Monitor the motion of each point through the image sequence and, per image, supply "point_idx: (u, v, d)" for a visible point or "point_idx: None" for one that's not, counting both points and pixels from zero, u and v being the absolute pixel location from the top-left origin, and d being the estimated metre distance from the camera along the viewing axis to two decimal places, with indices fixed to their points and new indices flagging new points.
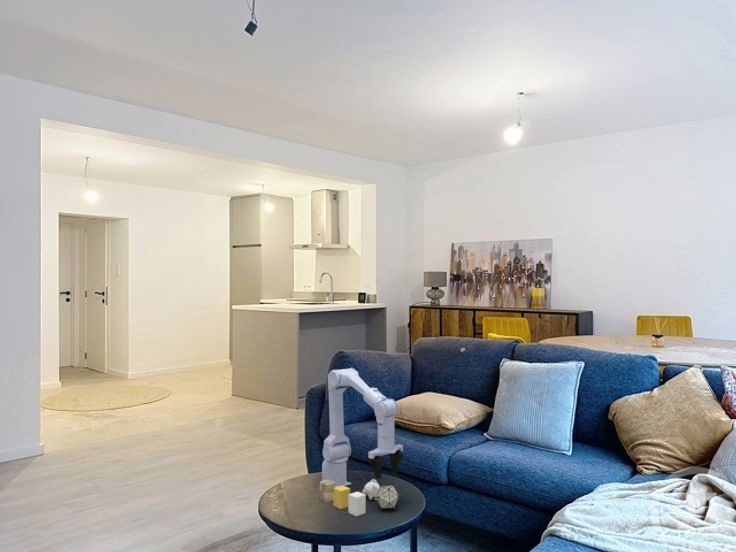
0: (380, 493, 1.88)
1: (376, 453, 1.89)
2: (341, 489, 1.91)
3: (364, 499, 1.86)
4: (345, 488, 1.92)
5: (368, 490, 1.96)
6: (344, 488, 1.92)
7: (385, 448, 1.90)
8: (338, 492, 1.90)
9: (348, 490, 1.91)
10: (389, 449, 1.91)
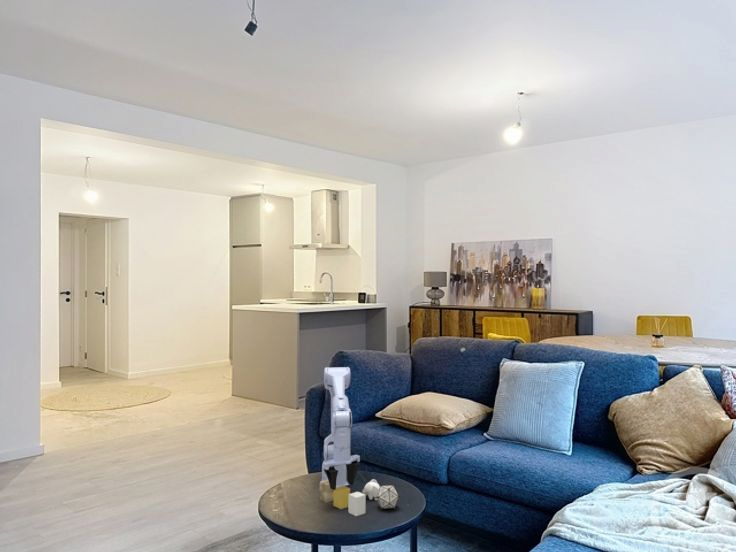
0: (380, 493, 1.88)
1: (331, 464, 1.88)
2: (341, 489, 1.91)
3: (364, 499, 1.86)
4: (345, 488, 1.92)
5: (368, 490, 1.96)
6: (344, 488, 1.92)
7: (340, 459, 1.90)
8: (338, 492, 1.90)
9: (348, 490, 1.91)
10: (344, 460, 1.90)
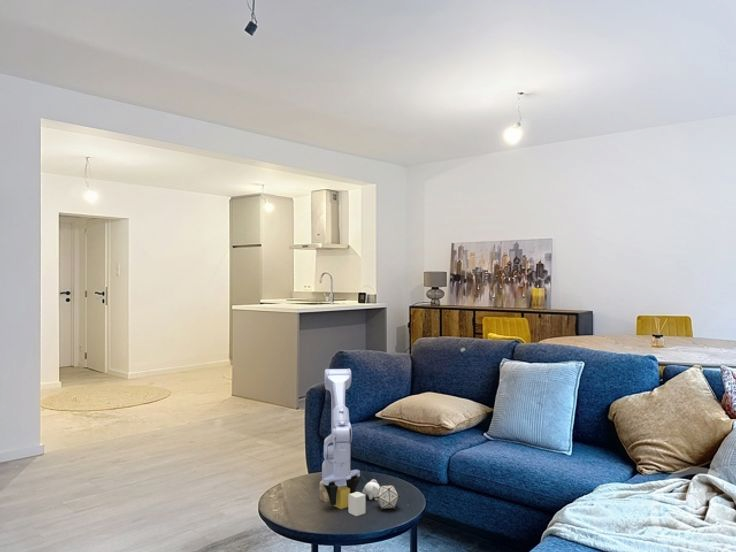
0: (380, 493, 1.88)
1: (331, 479, 1.88)
2: (341, 489, 1.91)
3: (364, 499, 1.86)
4: (345, 488, 1.92)
5: (368, 490, 1.96)
6: (344, 488, 1.92)
7: (340, 474, 1.90)
8: (338, 492, 1.90)
9: (348, 490, 1.91)
10: (344, 475, 1.90)
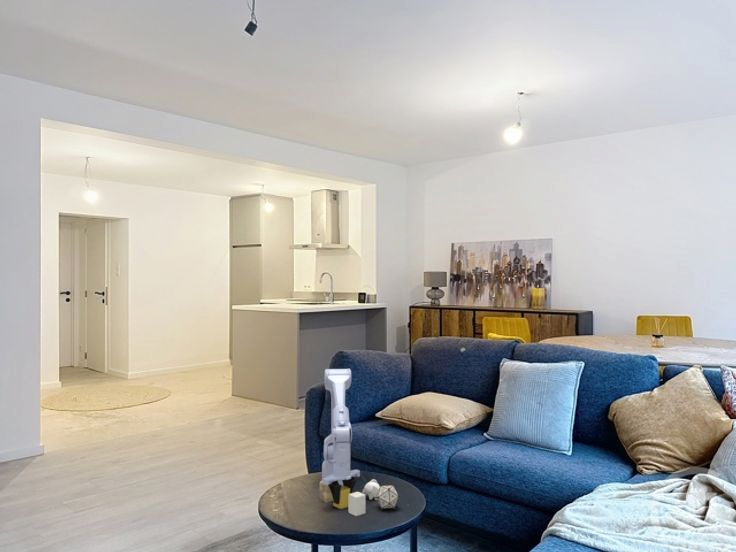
0: (380, 493, 1.88)
1: (331, 479, 1.88)
2: (341, 489, 1.91)
3: (364, 499, 1.86)
4: (345, 488, 1.92)
5: (368, 490, 1.96)
6: (344, 488, 1.92)
7: (340, 474, 1.90)
8: None
9: (348, 490, 1.91)
10: (344, 475, 1.90)
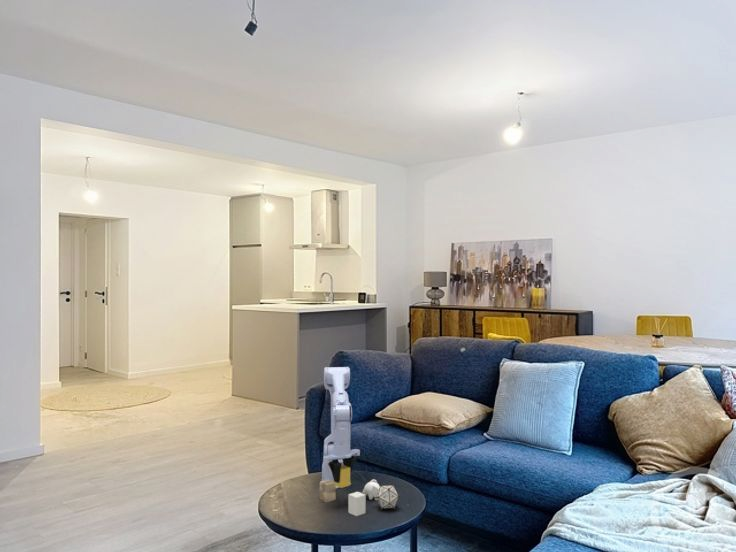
0: (380, 493, 1.88)
1: (331, 458, 1.88)
2: (341, 468, 1.91)
3: (364, 499, 1.86)
4: (345, 467, 1.92)
5: (368, 490, 1.96)
6: (344, 467, 1.92)
7: (340, 453, 1.90)
8: None
9: (348, 469, 1.92)
10: (344, 454, 1.90)
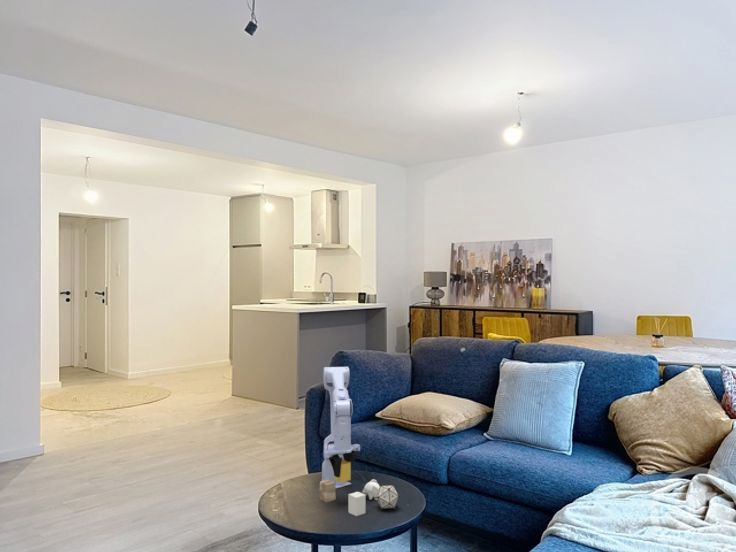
0: (380, 493, 1.88)
1: (331, 453, 1.89)
2: (342, 463, 1.93)
3: (364, 499, 1.86)
4: (346, 462, 1.94)
5: (368, 490, 1.96)
6: (345, 462, 1.93)
7: (340, 448, 1.91)
8: None
9: (348, 464, 1.93)
10: (345, 449, 1.91)
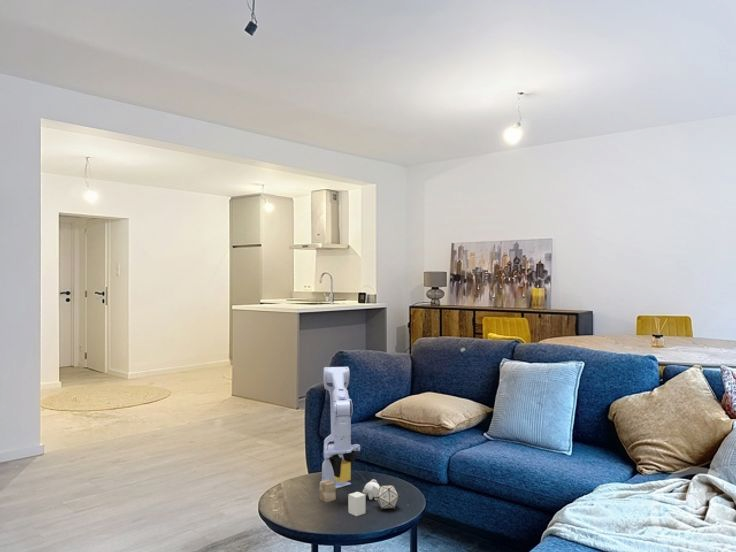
0: (380, 493, 1.88)
1: (331, 453, 1.89)
2: (342, 463, 1.93)
3: (364, 499, 1.86)
4: (346, 462, 1.94)
5: (368, 490, 1.96)
6: (345, 462, 1.93)
7: (340, 448, 1.91)
8: None
9: (348, 464, 1.93)
10: (345, 449, 1.91)
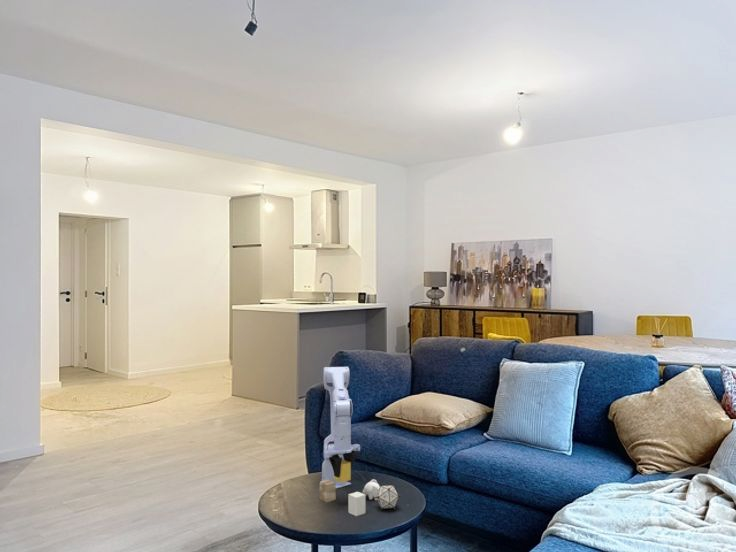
0: (380, 493, 1.88)
1: (331, 453, 1.89)
2: (342, 463, 1.93)
3: (364, 499, 1.86)
4: (346, 462, 1.94)
5: (368, 490, 1.96)
6: (345, 462, 1.93)
7: (340, 448, 1.91)
8: None
9: (348, 464, 1.93)
10: (345, 449, 1.91)
